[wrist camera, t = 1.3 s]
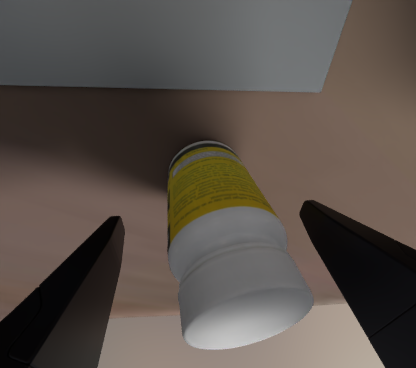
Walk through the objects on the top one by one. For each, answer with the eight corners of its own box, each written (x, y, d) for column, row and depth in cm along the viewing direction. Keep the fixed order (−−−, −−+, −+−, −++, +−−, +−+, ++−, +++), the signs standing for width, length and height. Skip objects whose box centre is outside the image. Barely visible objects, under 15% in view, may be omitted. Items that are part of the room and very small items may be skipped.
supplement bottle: (151, 162, 11) (127, 331, 4) (223, 123, 11) (321, 250, 4) (190, 212, 14) (212, 364, 7) (249, 183, 13) (333, 319, 7)
